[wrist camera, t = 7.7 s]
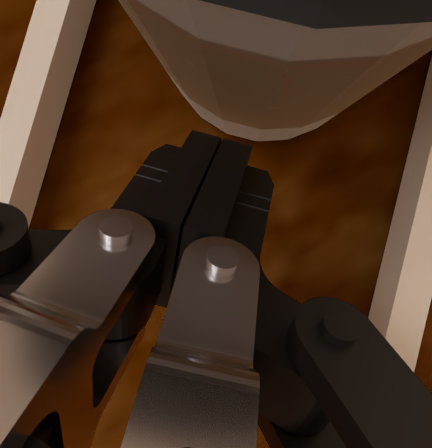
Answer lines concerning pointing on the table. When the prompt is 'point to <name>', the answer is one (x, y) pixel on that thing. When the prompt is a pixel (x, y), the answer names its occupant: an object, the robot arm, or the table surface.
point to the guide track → (50, 120)
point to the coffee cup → (280, 56)
